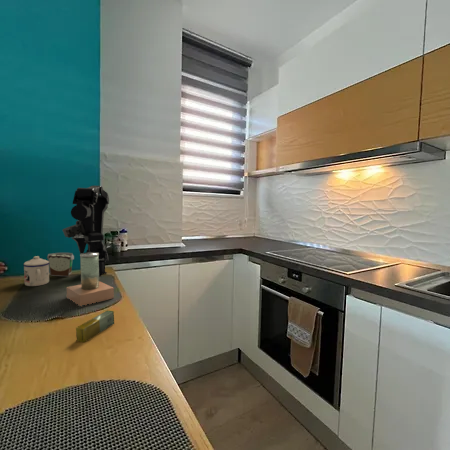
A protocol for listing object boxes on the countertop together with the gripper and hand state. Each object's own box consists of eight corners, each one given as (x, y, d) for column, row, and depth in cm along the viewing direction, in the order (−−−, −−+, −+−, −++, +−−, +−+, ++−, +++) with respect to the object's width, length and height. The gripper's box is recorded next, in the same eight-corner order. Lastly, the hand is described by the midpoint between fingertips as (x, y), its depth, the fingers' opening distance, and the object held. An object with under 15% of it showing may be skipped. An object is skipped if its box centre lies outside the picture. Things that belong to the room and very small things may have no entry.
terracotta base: (98, 290, 111) (98, 280, 111) (113, 298, 103) (113, 287, 103) (66, 297, 102) (66, 287, 101) (80, 306, 94) (80, 295, 94)
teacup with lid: (23, 282, 118) (22, 255, 117) (48, 279, 123) (47, 253, 122) (25, 289, 108) (24, 260, 107) (52, 286, 114) (51, 258, 113)
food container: (80, 273, 134) (79, 253, 134) (71, 276, 128) (71, 255, 127) (56, 271, 136) (56, 251, 135) (47, 275, 129) (46, 254, 129)
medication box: (107, 322, 83) (107, 309, 83) (114, 323, 83) (114, 311, 82) (75, 341, 72) (75, 327, 72) (84, 343, 71) (83, 328, 71)
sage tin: (89, 284, 106) (88, 251, 105) (103, 285, 104) (102, 252, 103) (77, 288, 100) (76, 254, 99) (91, 290, 98) (90, 255, 97)
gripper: (56, 217, 113) (56, 254, 115) (74, 220, 101) (75, 262, 103) (84, 216, 122) (84, 251, 123) (104, 219, 110) (104, 258, 111)
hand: (86, 255), depth 115 cm, fingers open, 9 cm apart
